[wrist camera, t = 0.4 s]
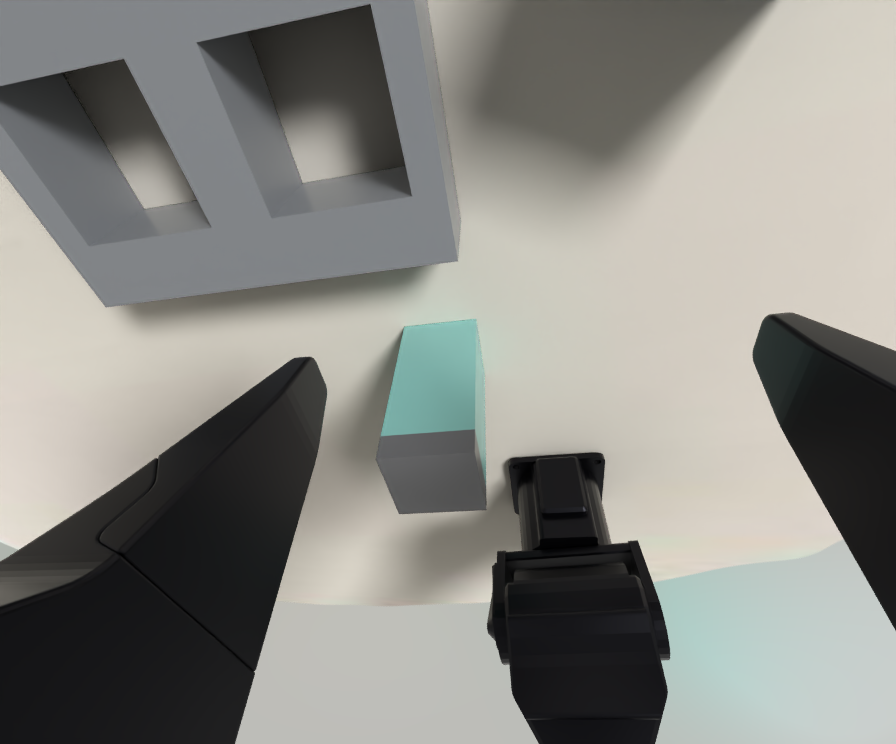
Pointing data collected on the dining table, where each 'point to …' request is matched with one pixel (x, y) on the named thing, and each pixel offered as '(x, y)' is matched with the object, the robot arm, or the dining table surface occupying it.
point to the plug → (436, 421)
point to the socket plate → (216, 150)
